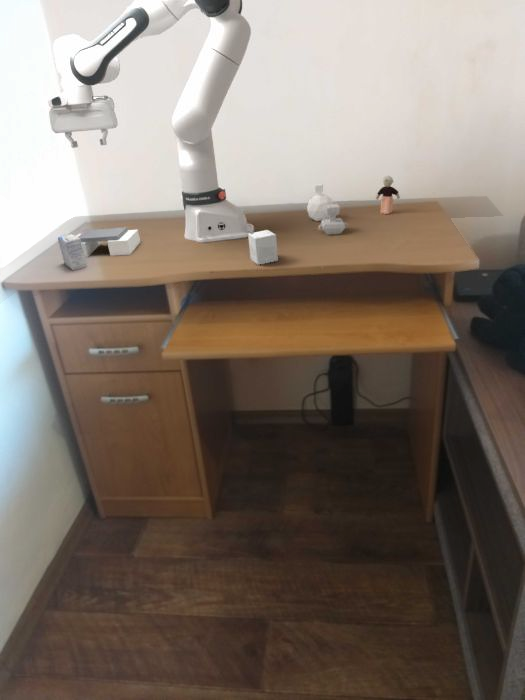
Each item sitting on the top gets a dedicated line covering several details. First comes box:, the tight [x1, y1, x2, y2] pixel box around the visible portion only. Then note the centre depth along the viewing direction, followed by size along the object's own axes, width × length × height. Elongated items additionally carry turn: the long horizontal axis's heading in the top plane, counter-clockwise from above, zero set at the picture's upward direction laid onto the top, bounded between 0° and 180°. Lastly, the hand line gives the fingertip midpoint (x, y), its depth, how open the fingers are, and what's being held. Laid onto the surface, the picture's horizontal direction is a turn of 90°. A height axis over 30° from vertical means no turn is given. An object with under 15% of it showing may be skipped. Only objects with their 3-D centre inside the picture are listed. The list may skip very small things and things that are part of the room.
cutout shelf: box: [75, 226, 141, 258], centre depth 161 cm, size 19×12×6 cm, turn 87°
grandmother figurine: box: [375, 175, 401, 215], centre depth 172 cm, size 8×4×13 cm, turn 81°
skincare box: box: [247, 229, 279, 266], centre depth 141 cm, size 6×6×7 cm
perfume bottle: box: [306, 183, 334, 222], centre depth 171 cm, size 9×9×12 cm
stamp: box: [317, 203, 348, 236], centre depth 159 cm, size 9×7×8 cm
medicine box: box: [57, 233, 88, 271], centre depth 150 cm, size 8×4×9 cm, turn 35°
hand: (89, 146), depth 166 cm, fingers open, 8 cm apart
